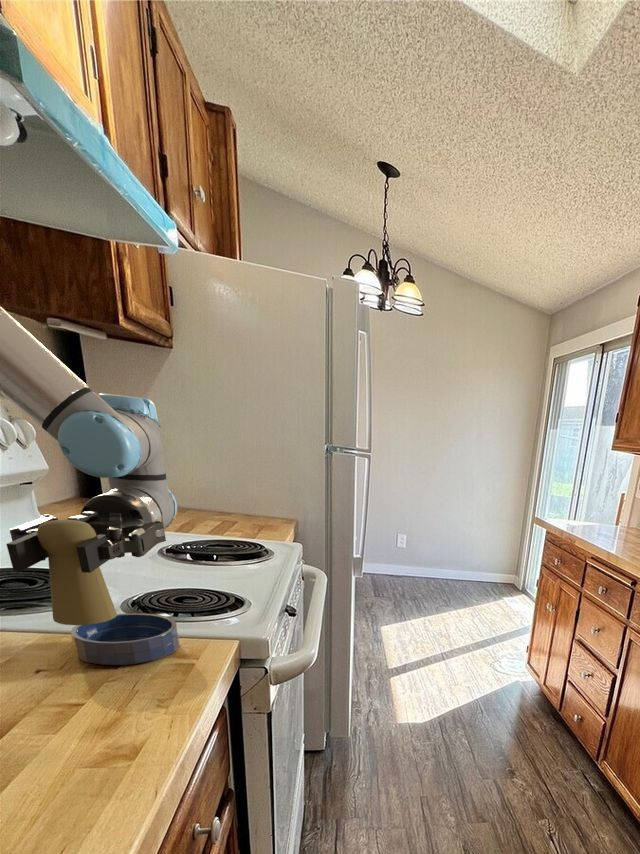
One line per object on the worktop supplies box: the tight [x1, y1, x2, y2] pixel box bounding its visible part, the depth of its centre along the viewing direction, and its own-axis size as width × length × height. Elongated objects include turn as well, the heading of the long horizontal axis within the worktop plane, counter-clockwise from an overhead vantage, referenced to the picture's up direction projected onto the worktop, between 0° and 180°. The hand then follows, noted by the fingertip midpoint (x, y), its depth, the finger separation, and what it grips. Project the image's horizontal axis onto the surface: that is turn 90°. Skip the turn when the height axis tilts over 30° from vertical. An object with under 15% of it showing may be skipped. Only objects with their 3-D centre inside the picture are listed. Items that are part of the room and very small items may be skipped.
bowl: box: [70, 612, 180, 666], centre depth 78 cm, size 12×12×4 cm
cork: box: [37, 519, 118, 626], centre depth 63 cm, size 6×6×11 cm
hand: (49, 558), depth 57 cm, fingers closed on cork, 5 cm apart
